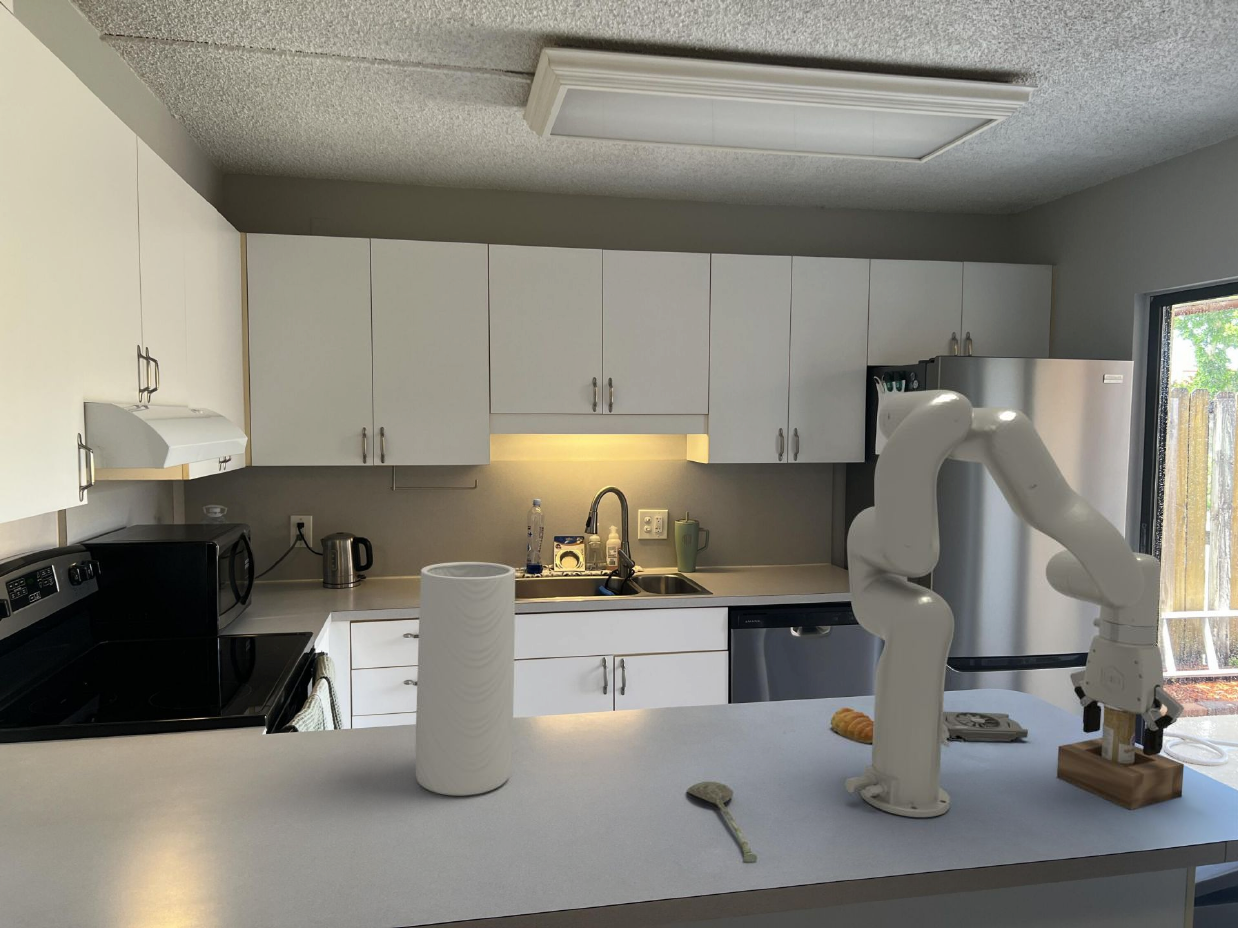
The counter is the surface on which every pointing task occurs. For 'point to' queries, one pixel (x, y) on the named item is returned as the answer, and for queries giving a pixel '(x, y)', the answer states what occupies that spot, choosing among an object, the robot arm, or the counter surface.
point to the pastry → (853, 725)
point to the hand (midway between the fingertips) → (1120, 742)
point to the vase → (465, 677)
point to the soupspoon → (722, 808)
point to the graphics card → (980, 727)
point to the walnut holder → (1120, 775)
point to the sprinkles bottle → (1118, 736)
